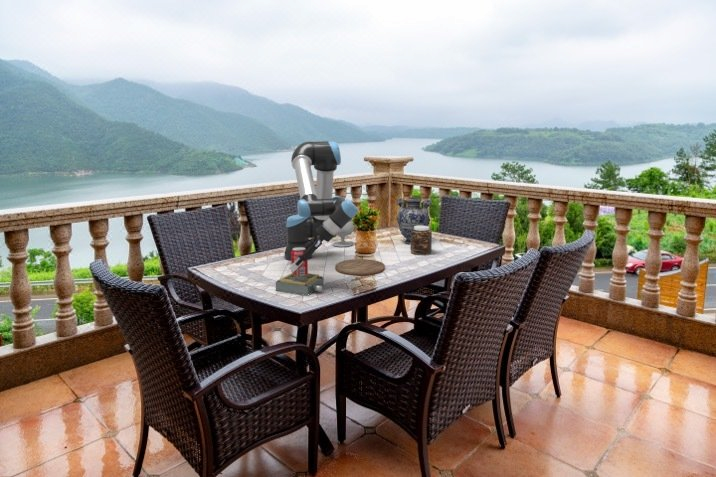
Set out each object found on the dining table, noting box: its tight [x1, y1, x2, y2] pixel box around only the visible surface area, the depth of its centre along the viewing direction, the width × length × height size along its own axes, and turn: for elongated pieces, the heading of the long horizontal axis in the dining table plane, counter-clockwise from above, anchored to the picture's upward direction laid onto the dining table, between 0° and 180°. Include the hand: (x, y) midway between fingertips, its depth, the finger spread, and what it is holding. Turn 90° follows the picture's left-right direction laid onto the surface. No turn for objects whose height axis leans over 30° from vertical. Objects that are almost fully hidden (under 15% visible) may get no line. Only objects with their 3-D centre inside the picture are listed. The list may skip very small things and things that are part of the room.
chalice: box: [332, 219, 355, 248], centre depth 287 cm, size 14×14×15 cm
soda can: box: [290, 247, 309, 277], centre depth 206 cm, size 7×7×12 cm
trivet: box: [334, 258, 386, 277], centre depth 238 cm, size 25×25×2 cm
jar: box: [409, 225, 433, 256], centre depth 267 cm, size 12×12×15 cm
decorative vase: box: [396, 196, 433, 245], centre depth 290 cm, size 21×19×28 cm
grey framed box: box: [275, 272, 325, 296], centre depth 207 cm, size 20×14×5 cm
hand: (291, 267), depth 206 cm, fingers closed on soda can, 7 cm apart
